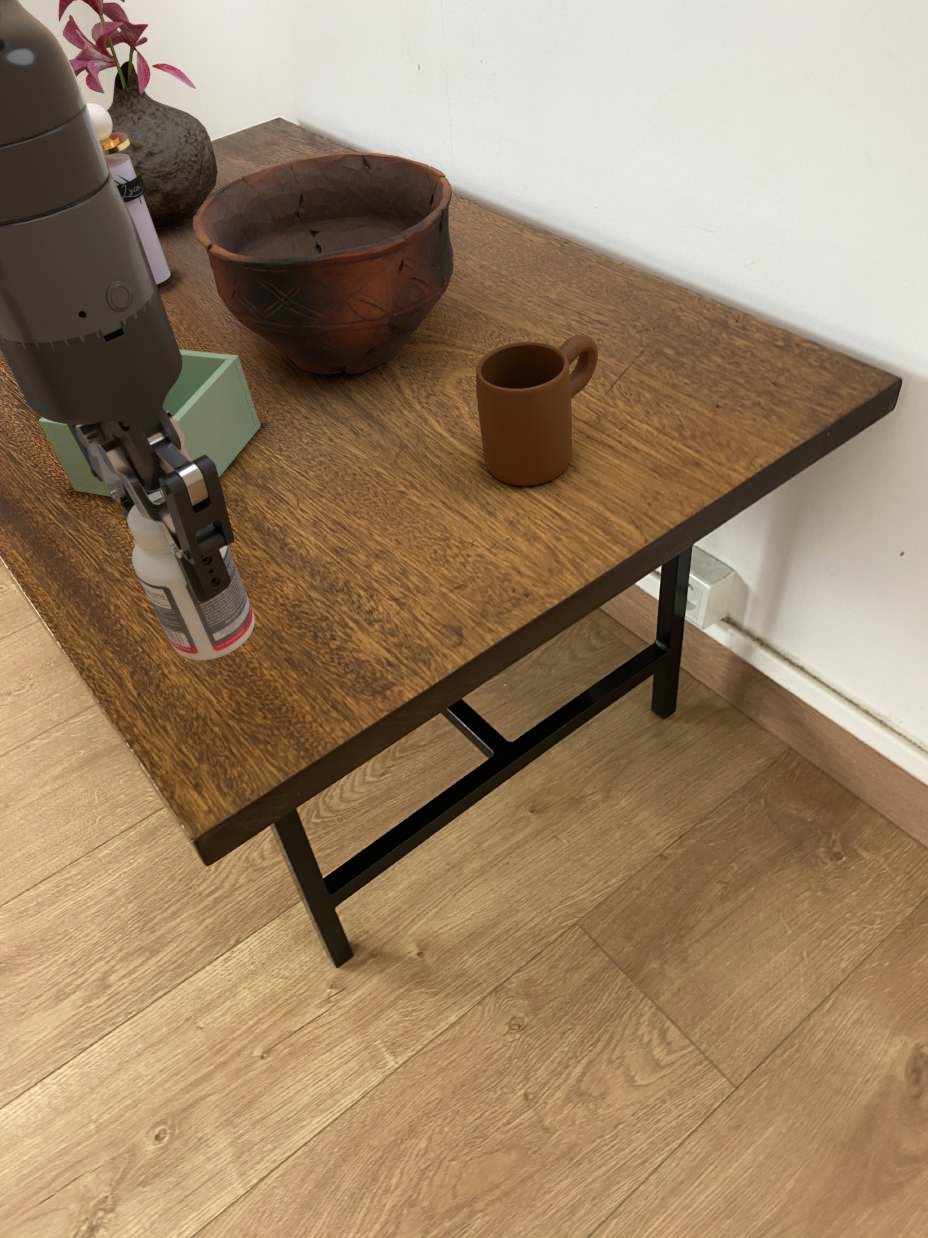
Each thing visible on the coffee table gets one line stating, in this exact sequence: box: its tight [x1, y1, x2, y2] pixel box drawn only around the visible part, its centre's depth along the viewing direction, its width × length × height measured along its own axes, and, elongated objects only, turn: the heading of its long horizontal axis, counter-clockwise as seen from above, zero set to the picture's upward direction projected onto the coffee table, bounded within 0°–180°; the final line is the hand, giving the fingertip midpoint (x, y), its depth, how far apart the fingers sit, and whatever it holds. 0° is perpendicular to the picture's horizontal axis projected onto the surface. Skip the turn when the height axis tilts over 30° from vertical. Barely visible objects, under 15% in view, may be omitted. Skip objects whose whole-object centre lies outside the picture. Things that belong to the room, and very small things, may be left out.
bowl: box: [192, 152, 454, 375], centre depth 90 cm, size 25×25×15 cm
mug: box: [475, 333, 599, 486], centre depth 75 cm, size 12×8×9 cm, turn 130°
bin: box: [38, 348, 261, 498], centre depth 81 cm, size 13×13×8 cm
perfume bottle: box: [85, 102, 172, 285], centre depth 103 cm, size 6×6×20 cm
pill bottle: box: [126, 491, 255, 661], centre depth 53 cm, size 5×5×10 cm
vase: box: [58, 0, 219, 230], centre depth 113 cm, size 17×18×30 cm
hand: (186, 567), depth 53 cm, fingers closed on pill bottle, 5 cm apart
